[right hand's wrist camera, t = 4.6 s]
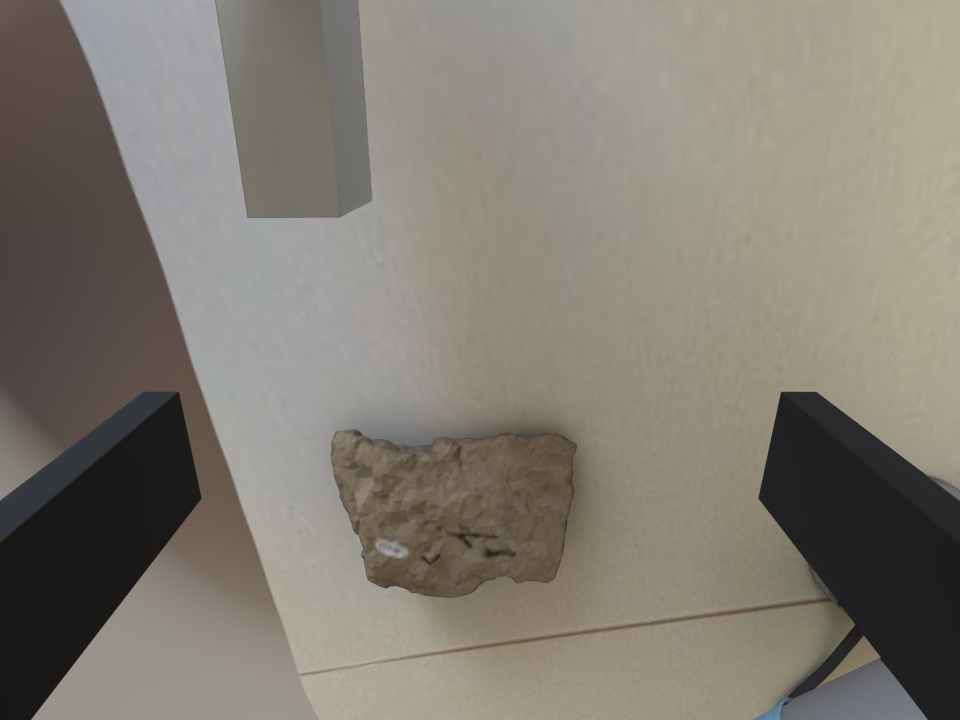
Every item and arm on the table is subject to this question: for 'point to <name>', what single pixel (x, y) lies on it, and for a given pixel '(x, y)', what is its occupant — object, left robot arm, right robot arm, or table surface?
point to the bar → (297, 105)
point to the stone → (456, 508)
